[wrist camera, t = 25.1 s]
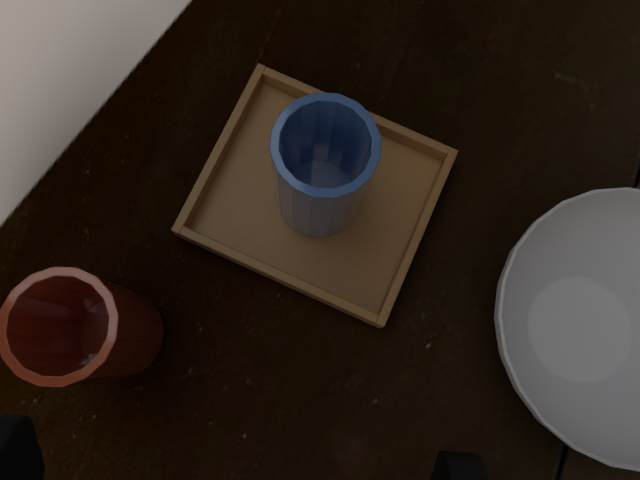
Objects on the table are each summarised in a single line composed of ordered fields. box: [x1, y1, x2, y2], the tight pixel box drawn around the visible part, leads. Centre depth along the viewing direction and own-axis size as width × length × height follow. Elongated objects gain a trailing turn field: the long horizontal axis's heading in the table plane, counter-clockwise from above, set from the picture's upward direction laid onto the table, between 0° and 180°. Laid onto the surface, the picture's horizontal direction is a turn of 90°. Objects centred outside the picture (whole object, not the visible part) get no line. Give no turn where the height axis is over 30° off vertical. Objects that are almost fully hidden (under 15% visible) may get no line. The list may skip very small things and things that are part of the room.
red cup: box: [0, 266, 164, 387], centre depth 32 cm, size 6×6×10 cm
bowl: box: [494, 187, 640, 472], centre depth 35 cm, size 16×16×7 cm
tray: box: [171, 63, 458, 328], centre depth 39 cm, size 15×13×2 cm
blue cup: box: [270, 92, 381, 237], centre depth 34 cm, size 6×6×10 cm
